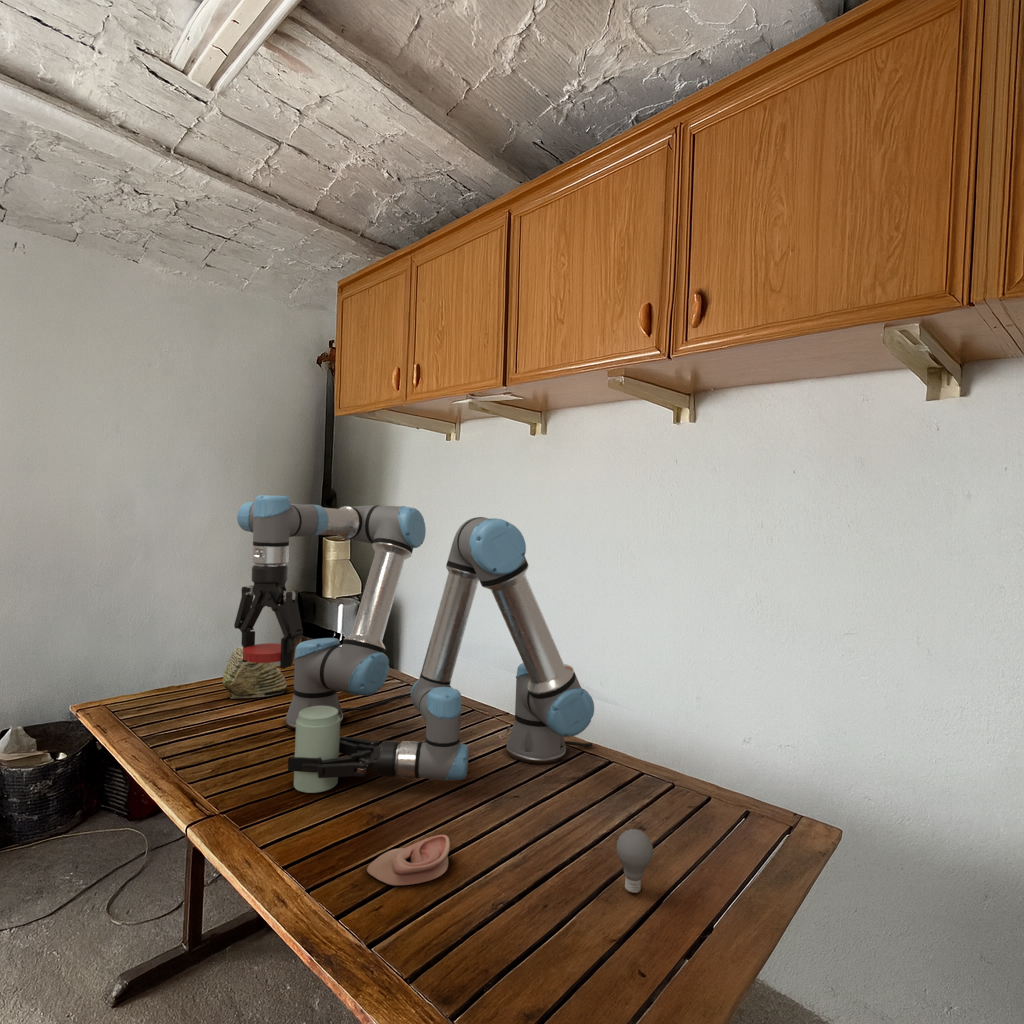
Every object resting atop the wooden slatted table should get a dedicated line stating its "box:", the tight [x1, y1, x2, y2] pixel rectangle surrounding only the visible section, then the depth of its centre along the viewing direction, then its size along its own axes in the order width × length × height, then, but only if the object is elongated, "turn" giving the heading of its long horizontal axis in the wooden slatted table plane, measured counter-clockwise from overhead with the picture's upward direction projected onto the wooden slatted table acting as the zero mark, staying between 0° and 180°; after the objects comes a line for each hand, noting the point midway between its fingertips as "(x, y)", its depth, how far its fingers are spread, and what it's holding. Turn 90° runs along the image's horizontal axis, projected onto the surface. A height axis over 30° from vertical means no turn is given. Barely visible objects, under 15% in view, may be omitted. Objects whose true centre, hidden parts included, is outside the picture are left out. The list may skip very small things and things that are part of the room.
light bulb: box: [615, 828, 654, 894], centre depth 106 cm, size 6×6×10 cm
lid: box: [243, 642, 281, 663], centre depth 141 cm, size 10×10×2 cm
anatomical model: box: [366, 834, 451, 886], centre depth 109 cm, size 13×4×12 cm
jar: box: [293, 706, 341, 794], centre depth 140 cm, size 9×9×16 cm
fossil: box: [222, 646, 288, 699], centre depth 198 cm, size 9×18×15 cm, turn 132°
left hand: (266, 663), depth 141 cm, fingers closed on lid, 10 cm apart
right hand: (296, 754), depth 140 cm, fingers closed on jar, 9 cm apart
